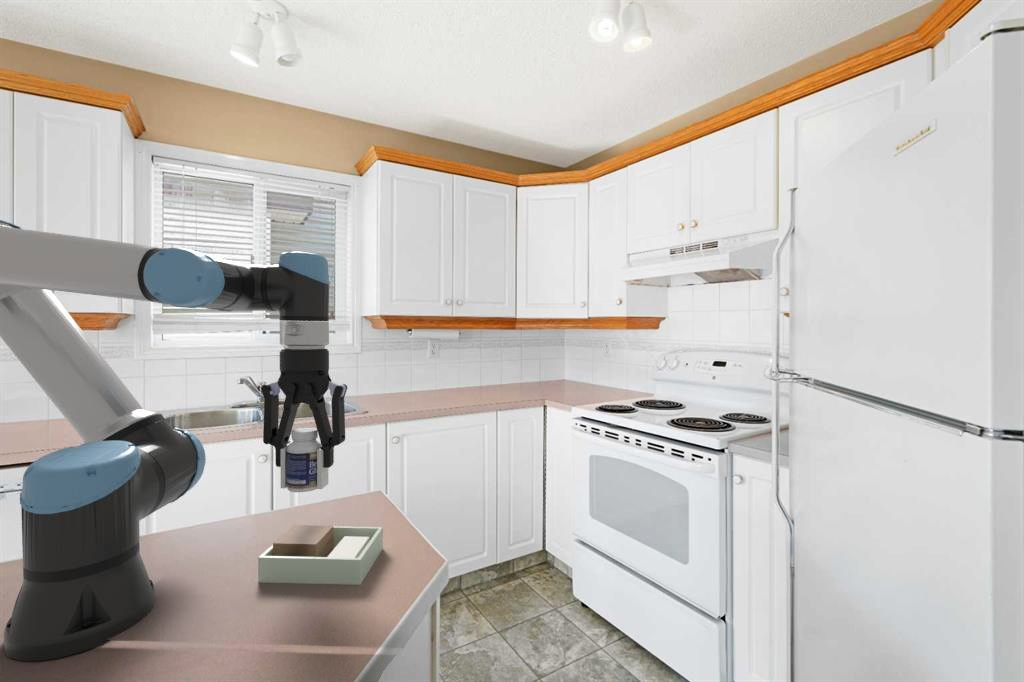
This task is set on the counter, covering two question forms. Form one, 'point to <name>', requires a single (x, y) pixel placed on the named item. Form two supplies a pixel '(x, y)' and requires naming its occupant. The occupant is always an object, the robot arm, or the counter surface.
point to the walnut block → (305, 541)
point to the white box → (350, 547)
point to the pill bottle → (302, 460)
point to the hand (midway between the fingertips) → (304, 485)
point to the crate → (323, 562)
